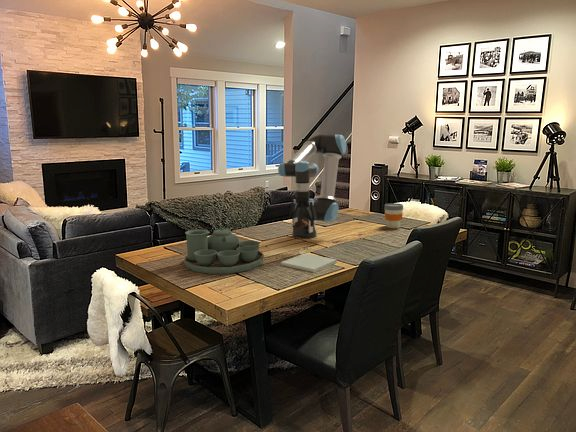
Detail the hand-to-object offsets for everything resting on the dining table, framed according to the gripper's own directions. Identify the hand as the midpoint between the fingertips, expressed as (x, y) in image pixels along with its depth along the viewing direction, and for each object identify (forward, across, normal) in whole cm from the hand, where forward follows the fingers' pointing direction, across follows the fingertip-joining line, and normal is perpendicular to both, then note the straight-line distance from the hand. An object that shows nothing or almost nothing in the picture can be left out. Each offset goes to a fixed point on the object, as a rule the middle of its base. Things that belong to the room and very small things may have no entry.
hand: (303, 230), depth 254 cm
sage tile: (+11, +17, -19) cm, 27 cm away
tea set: (+11, -19, -42) cm, 47 cm away
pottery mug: (+1, 0, 0) cm, 1 cm away
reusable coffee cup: (+13, +13, +85) cm, 87 cm away
